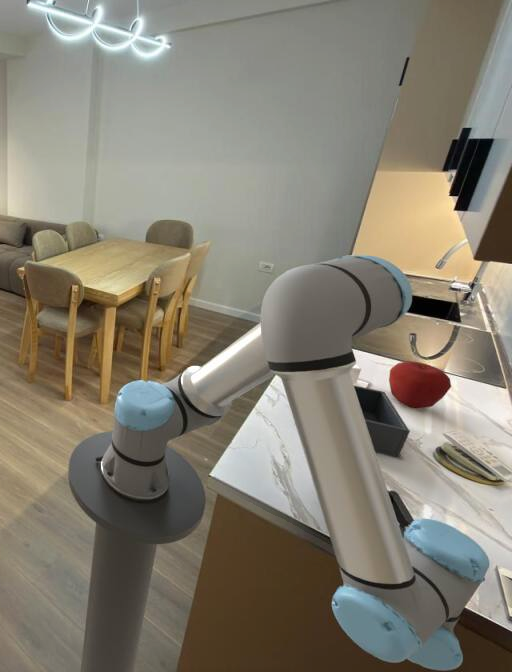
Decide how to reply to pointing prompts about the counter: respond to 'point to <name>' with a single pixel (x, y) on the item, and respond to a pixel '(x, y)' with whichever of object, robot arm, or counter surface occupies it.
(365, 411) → the storage bin
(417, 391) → the apple
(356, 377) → the napkin holder
